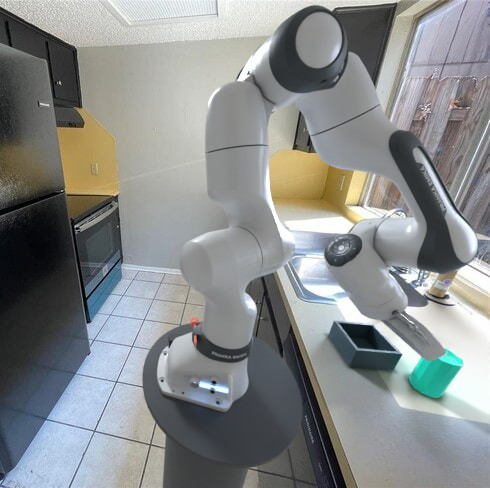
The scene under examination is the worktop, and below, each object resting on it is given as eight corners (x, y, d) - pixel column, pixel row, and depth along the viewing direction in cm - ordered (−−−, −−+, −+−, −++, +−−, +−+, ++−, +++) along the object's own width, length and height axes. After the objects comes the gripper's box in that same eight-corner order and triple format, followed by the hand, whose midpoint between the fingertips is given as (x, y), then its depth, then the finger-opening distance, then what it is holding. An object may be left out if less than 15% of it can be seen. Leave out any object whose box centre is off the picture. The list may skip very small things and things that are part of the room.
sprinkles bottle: (434, 297, 98) (452, 266, 93) (424, 290, 102) (440, 260, 97) (447, 298, 98) (465, 267, 93) (436, 291, 102) (453, 261, 97)
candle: (427, 399, 59) (453, 362, 55) (402, 377, 65) (423, 341, 60) (448, 396, 60) (475, 359, 55) (421, 374, 66) (444, 338, 61)
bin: (349, 366, 67) (356, 350, 65) (328, 335, 77) (333, 320, 75) (393, 370, 66) (402, 354, 64) (366, 339, 77) (373, 323, 74)
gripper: (441, 323, 44) (468, 367, 48) (359, 265, 62) (384, 300, 66) (404, 342, 45) (433, 383, 49) (335, 280, 64) (360, 313, 68)
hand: (404, 335), depth 58 cm, fingers open, 8 cm apart
